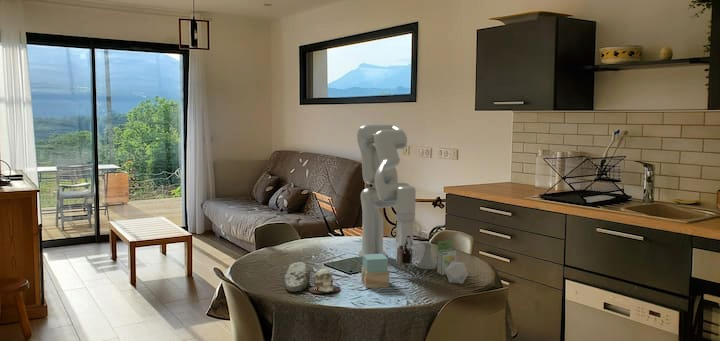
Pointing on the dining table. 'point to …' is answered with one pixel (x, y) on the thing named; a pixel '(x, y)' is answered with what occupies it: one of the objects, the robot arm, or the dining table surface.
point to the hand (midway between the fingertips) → (404, 260)
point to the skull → (324, 282)
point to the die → (456, 272)
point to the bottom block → (375, 279)
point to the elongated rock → (296, 277)
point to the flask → (427, 258)
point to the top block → (375, 263)
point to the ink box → (445, 256)
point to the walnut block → (400, 254)
